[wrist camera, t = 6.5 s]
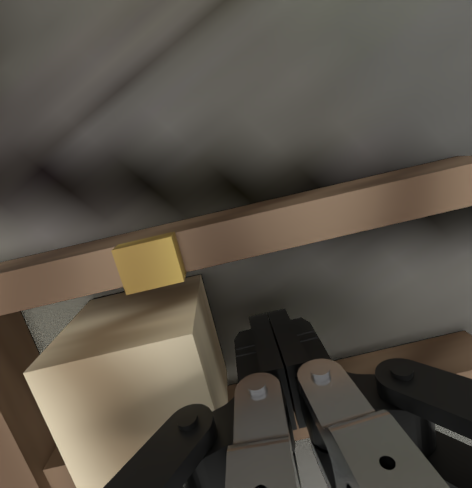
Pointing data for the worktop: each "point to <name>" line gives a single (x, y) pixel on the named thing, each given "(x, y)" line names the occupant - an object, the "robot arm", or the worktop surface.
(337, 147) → the worktop surface
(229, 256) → the beam rails
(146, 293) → the block
